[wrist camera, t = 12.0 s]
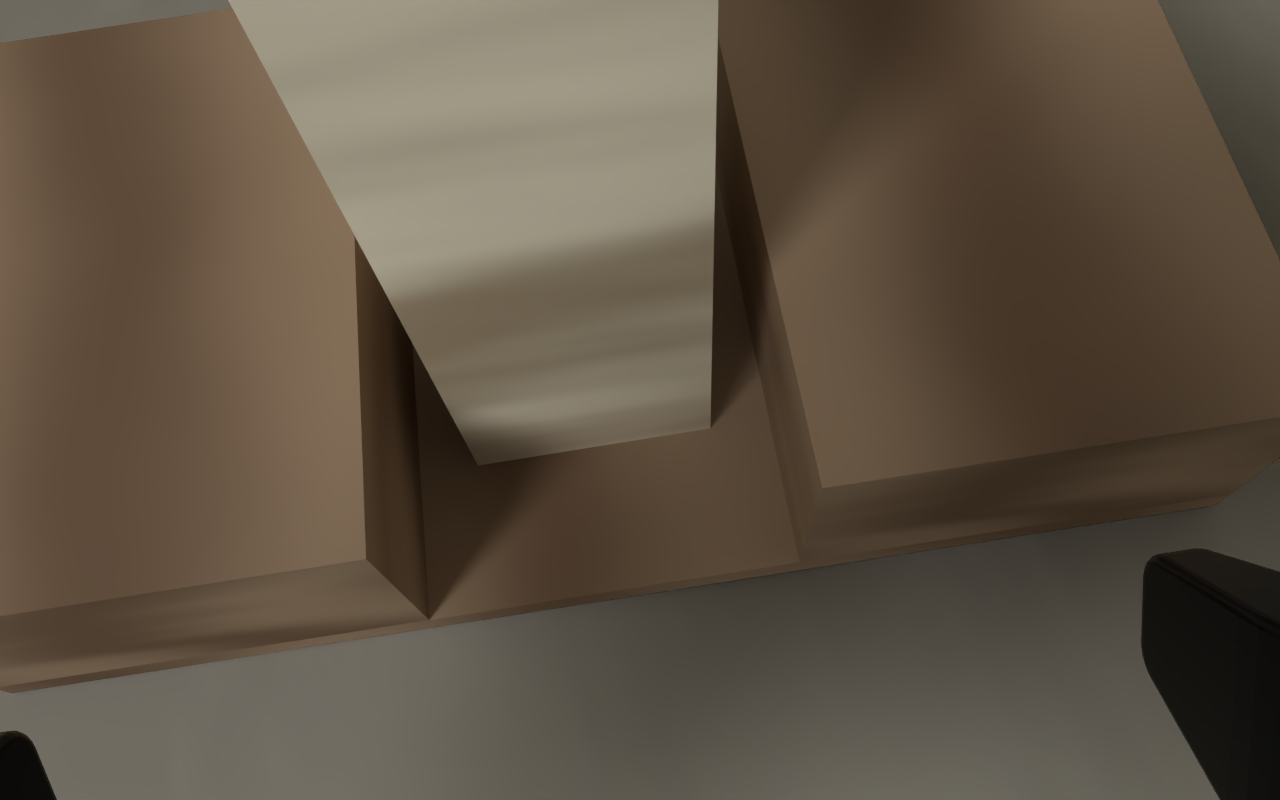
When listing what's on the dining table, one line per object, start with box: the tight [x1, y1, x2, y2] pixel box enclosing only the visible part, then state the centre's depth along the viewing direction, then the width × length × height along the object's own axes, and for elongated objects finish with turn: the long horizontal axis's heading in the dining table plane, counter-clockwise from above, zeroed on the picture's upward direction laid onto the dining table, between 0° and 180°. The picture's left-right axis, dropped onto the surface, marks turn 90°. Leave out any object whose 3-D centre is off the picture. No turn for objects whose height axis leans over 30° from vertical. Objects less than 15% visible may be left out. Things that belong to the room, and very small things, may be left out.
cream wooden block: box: [228, 0, 718, 466], centre depth 13 cm, size 5×4×12 cm
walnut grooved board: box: [0, 0, 1280, 693], centre depth 18 cm, size 20×10×4 cm, turn 98°
